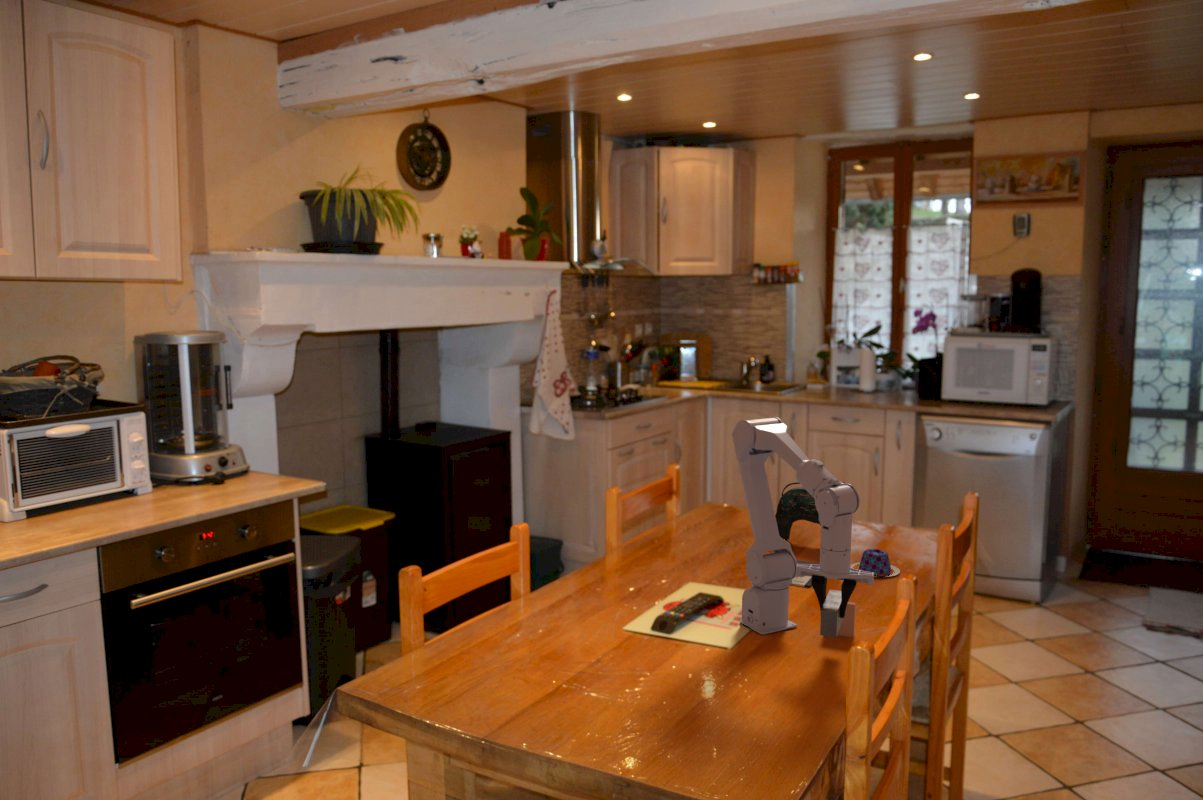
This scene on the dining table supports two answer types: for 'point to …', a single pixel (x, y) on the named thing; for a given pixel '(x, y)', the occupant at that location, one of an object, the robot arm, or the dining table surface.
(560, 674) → the dining table surface
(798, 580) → the chocolate bar
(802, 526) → the dining table surface
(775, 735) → the dining table surface
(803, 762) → the dining table surface
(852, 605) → the tile
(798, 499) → the ceramic cat
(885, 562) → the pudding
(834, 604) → the tall grey plank
